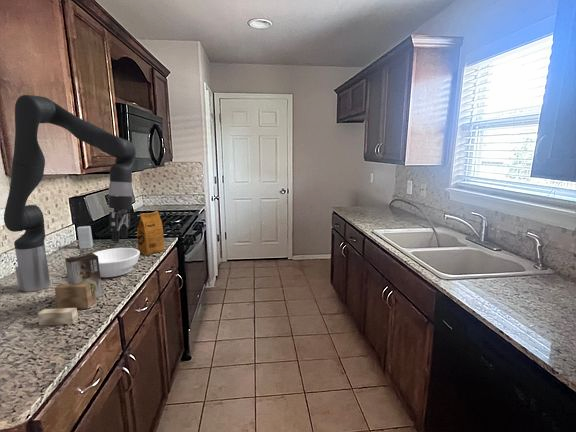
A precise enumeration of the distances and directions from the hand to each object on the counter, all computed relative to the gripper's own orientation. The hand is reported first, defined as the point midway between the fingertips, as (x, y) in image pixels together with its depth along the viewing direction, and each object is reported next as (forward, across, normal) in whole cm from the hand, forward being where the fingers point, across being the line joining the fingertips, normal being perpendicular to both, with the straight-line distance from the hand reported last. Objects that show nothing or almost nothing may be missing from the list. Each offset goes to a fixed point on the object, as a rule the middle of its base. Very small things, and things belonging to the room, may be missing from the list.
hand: (119, 239), depth 117 cm
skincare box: (+16, -76, -43) cm, 88 cm away
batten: (+25, +12, -14) cm, 31 cm away
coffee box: (+23, -5, -13) cm, 27 cm away
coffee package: (+15, -62, -4) cm, 64 cm away
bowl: (+20, -32, -12) cm, 40 cm away
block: (+24, +1, -13) cm, 27 cm away
